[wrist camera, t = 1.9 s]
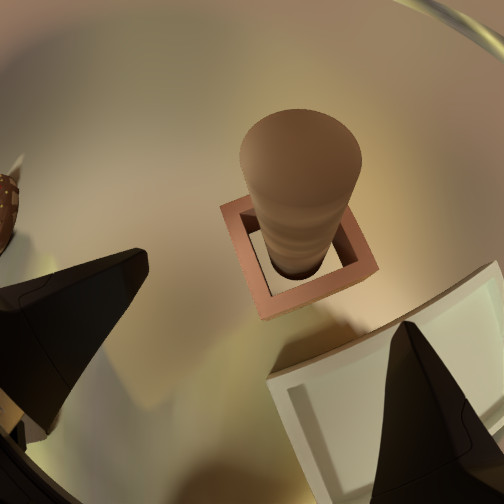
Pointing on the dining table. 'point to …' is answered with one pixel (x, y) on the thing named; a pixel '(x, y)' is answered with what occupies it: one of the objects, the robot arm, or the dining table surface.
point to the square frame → (269, 307)
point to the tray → (373, 385)
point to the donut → (7, 208)
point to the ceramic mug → (33, 430)
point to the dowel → (299, 185)
